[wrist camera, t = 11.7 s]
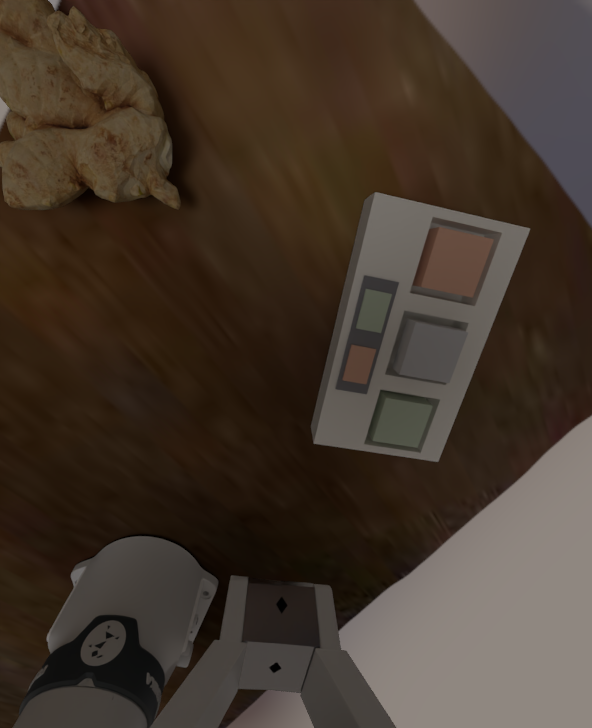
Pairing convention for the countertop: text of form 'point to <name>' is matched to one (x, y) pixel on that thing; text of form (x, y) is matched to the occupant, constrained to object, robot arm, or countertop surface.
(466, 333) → the grey key
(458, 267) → the terracotta key
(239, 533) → the countertop surface
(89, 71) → the ginger root
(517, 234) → the keypad
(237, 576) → the robot arm
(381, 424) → the sage key
